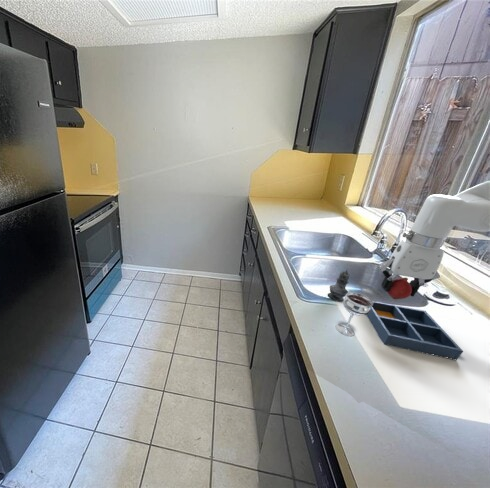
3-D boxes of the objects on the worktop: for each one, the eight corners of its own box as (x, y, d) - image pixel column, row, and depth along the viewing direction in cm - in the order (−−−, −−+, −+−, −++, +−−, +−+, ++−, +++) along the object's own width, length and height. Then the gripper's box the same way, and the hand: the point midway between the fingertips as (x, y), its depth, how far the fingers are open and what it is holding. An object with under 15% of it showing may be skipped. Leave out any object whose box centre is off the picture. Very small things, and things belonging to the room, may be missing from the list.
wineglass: (343, 320, 84) (357, 290, 78) (363, 335, 78) (379, 304, 73) (327, 324, 82) (340, 293, 76) (347, 340, 76) (362, 308, 71)
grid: (420, 318, 86) (425, 310, 85) (456, 360, 71) (463, 351, 70) (361, 307, 90) (365, 299, 89) (383, 344, 75) (388, 335, 74)
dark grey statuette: (323, 292, 98) (333, 265, 92) (338, 293, 98) (350, 265, 92) (332, 302, 92) (343, 273, 87) (348, 302, 92) (361, 274, 87)
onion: (381, 298, 81) (392, 276, 78) (383, 290, 85) (394, 270, 81) (404, 307, 78) (417, 285, 74) (405, 298, 82) (418, 277, 78)
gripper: (395, 239, 71) (370, 292, 79) (472, 250, 67) (437, 304, 75) (383, 229, 78) (361, 279, 86) (453, 239, 74) (422, 290, 82)
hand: (397, 291), depth 80 cm, fingers closed on onion, 5 cm apart
